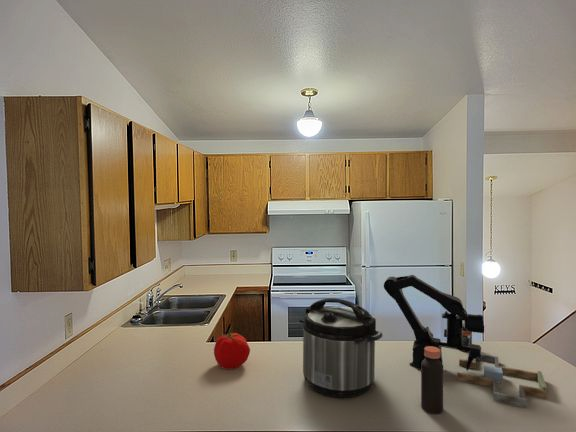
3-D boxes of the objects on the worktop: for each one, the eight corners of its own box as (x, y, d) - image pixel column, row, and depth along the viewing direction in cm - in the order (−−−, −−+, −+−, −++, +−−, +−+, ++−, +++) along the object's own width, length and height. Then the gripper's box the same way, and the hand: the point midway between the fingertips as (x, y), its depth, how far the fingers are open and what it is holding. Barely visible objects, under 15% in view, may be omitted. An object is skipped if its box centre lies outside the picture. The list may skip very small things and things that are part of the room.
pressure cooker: (395, 393, 127) (395, 305, 126) (323, 410, 117) (323, 315, 116) (352, 358, 155) (351, 286, 154) (291, 370, 146) (290, 293, 144)
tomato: (207, 370, 146) (207, 337, 146) (225, 356, 159) (225, 326, 159) (241, 376, 141) (240, 342, 140) (257, 361, 153) (256, 330, 153)
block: (484, 380, 136) (484, 370, 135) (483, 374, 140) (483, 364, 140) (502, 384, 133) (502, 373, 133) (501, 378, 137) (501, 367, 137)
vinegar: (441, 417, 113) (441, 355, 112) (419, 410, 117) (419, 350, 116) (444, 406, 119) (445, 347, 118) (423, 400, 122) (423, 343, 121)
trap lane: (455, 391, 127) (455, 382, 127) (460, 355, 157) (460, 347, 157) (551, 413, 114) (551, 402, 114) (537, 369, 143) (537, 360, 143)
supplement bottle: (473, 352, 160) (473, 327, 159) (459, 351, 161) (459, 327, 160) (469, 347, 166) (469, 323, 165) (455, 346, 167) (456, 322, 166)
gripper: (481, 326, 145) (480, 364, 145) (432, 320, 154) (431, 355, 154) (481, 336, 135) (480, 376, 136) (428, 328, 144) (428, 366, 145)
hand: (454, 367), depth 143 cm, fingers open, 9 cm apart
